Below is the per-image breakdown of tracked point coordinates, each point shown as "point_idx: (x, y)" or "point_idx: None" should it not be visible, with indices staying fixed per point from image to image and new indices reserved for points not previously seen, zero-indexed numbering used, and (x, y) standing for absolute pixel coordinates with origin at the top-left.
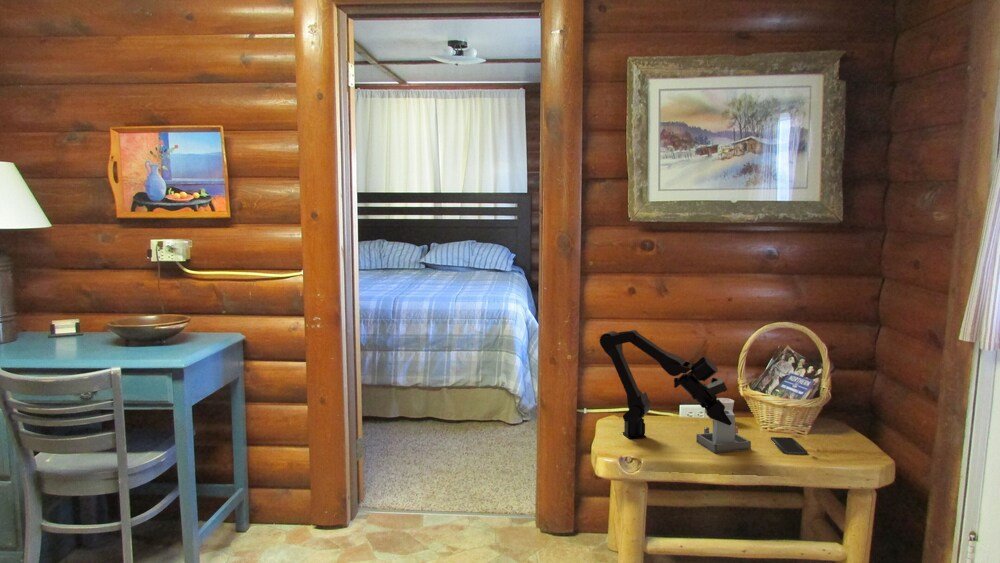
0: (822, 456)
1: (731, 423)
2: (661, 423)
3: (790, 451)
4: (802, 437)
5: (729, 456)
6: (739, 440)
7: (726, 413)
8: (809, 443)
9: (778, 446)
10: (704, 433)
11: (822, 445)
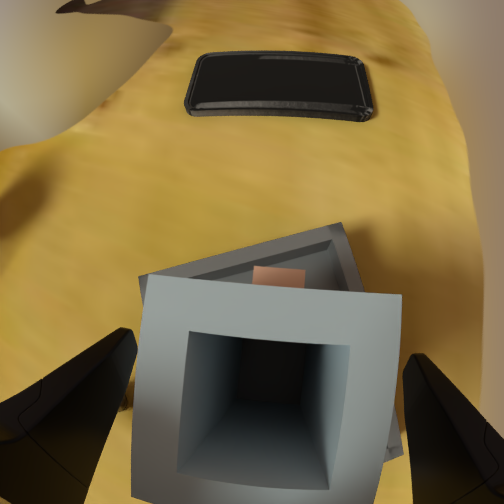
0: (366, 42)
1: (423, 356)
2: None
3: (358, 95)
4: (184, 37)
5: None
6: (252, 266)
7: (197, 352)
8: (243, 32)
9: (301, 111)
10: None
11: (263, 16)
